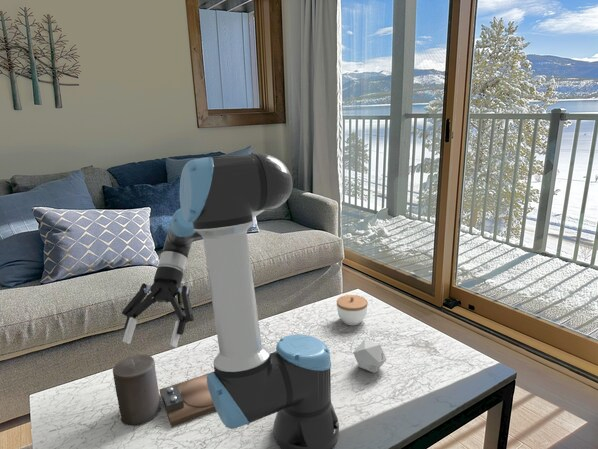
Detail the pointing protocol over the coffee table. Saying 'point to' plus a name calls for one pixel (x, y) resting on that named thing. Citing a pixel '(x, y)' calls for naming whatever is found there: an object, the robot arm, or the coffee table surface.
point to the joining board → (192, 400)
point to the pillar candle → (137, 389)
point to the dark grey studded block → (172, 399)
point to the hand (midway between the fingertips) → (149, 344)
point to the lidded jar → (352, 309)
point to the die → (369, 356)
